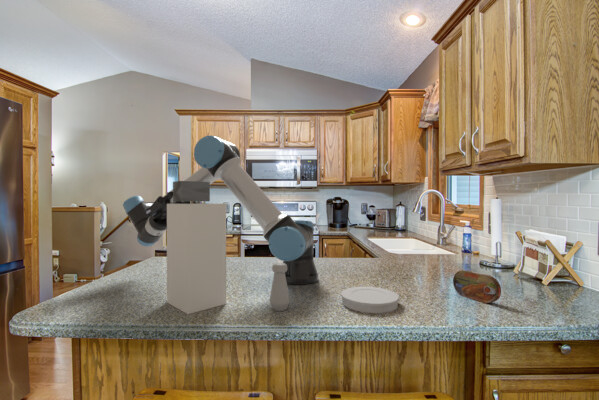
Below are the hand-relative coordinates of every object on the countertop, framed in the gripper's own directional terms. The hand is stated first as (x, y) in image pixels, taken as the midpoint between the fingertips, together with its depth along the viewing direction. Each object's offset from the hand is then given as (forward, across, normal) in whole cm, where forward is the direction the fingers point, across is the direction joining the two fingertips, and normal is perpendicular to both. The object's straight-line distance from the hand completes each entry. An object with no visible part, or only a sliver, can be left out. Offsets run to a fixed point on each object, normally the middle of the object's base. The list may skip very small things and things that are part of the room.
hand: (183, 188), depth 100 cm
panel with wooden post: (-3, 0, -3) cm, 4 cm away
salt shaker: (+8, -15, -45) cm, 48 cm away
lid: (+20, -38, -53) cm, 68 cm away
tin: (+40, -65, -64) cm, 99 cm away
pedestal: (-10, 0, -34) cm, 36 cm away
